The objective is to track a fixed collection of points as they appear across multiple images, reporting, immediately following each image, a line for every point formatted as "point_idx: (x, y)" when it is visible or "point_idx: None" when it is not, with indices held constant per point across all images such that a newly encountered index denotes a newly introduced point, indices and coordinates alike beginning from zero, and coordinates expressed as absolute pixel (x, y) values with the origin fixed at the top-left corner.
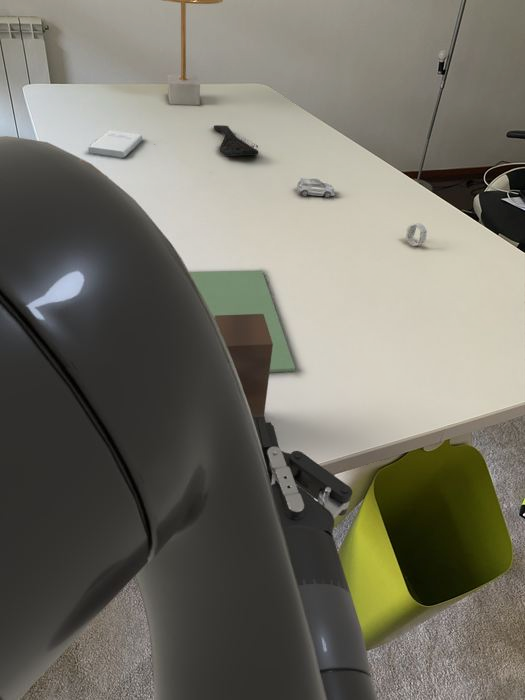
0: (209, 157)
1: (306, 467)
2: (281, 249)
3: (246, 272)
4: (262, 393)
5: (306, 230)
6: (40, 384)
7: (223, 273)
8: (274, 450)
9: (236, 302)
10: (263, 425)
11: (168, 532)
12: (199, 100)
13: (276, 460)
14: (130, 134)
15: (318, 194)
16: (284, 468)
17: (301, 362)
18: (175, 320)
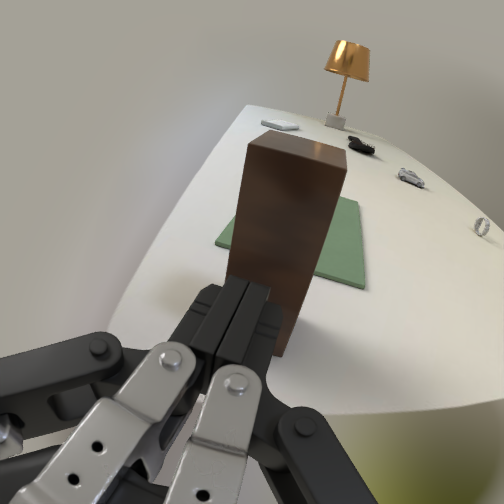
0: (340, 145)
1: (315, 477)
2: (378, 198)
3: (343, 198)
4: (305, 273)
5: (401, 196)
6: None
7: None
8: (237, 379)
9: None
10: (255, 303)
11: None
12: (343, 127)
13: (224, 413)
14: (292, 123)
15: (412, 182)
16: (224, 459)
17: (373, 283)
18: None
